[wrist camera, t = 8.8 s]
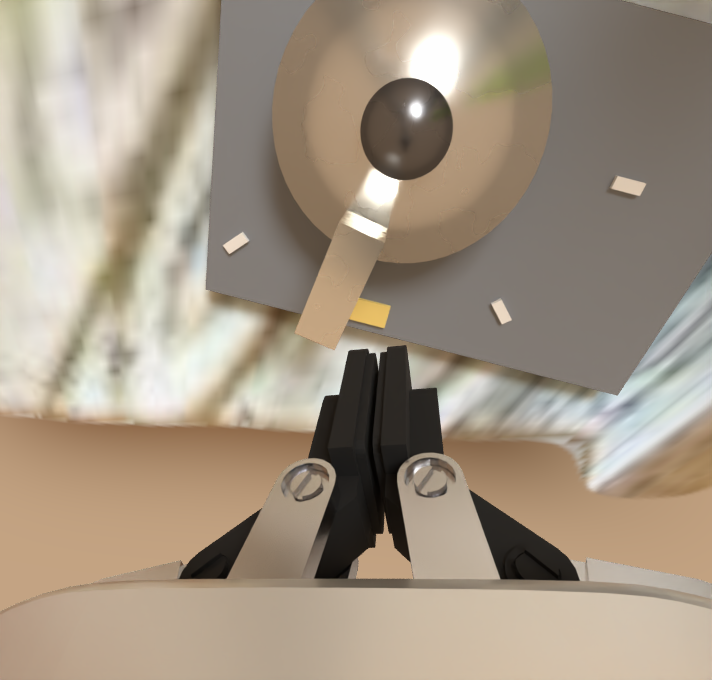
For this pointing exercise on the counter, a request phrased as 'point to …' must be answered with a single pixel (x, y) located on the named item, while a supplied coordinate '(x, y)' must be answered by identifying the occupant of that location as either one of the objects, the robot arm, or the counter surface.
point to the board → (526, 220)
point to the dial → (406, 133)
